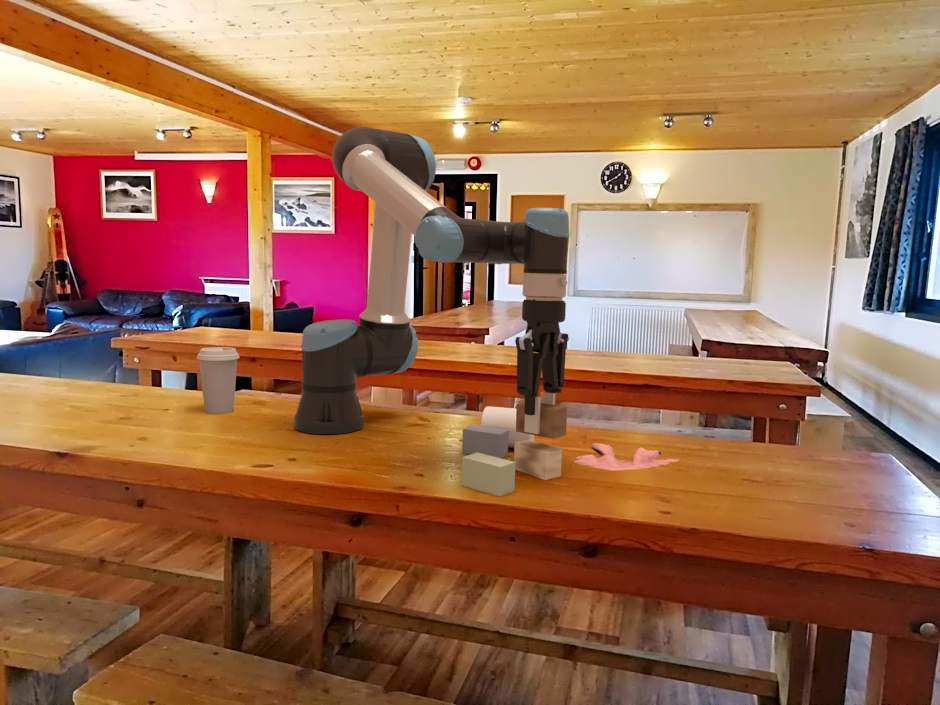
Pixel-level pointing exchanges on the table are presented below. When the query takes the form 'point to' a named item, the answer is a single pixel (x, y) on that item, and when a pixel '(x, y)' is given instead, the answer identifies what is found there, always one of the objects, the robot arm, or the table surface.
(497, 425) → the mug
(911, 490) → the table surface
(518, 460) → the birch brick
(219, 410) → the coffee cup
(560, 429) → the walnut brick
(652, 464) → the cloth
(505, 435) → the slate brick
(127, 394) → the table surface
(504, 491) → the sage brick
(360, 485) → the table surface
